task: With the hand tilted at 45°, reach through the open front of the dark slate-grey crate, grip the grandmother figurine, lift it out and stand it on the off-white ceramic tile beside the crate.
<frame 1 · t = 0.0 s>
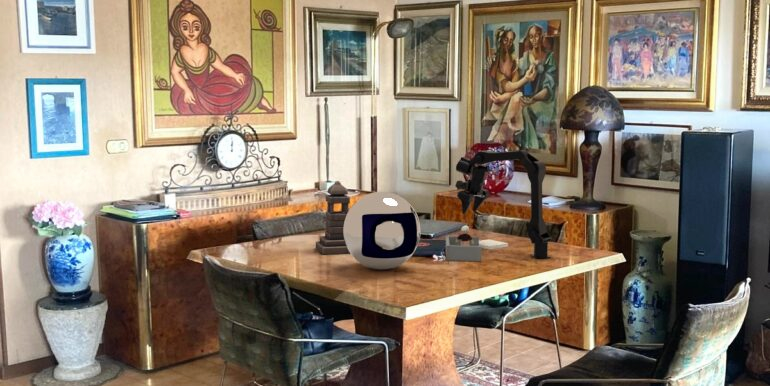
hand: (468, 212, 390), 15 cm above the table, tool pointing down, fingers open, 9 cm apart
open crate: (464, 255, 374), on the table
miniature tower: (337, 251, 381), on the table
ceramic tile: (488, 246, 396), on the table
spherical light: (381, 269, 345), on the table
grandmother figurine: (464, 255, 374), resting in open crate
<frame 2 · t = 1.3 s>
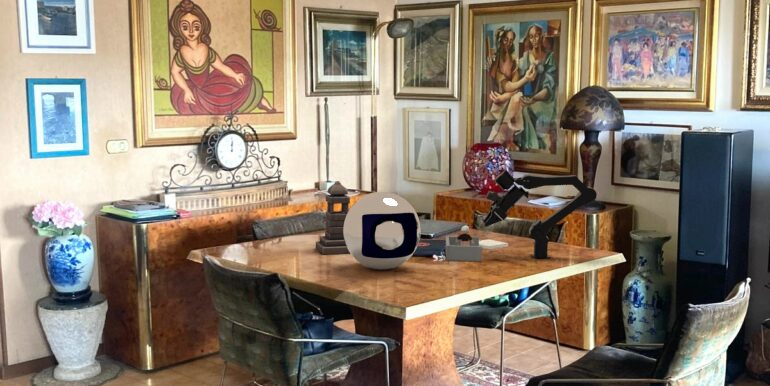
hand: (484, 224, 373), 13 cm above the table, tool tilted 45°, fingers open, 9 cm apart
nothing on the table moved.
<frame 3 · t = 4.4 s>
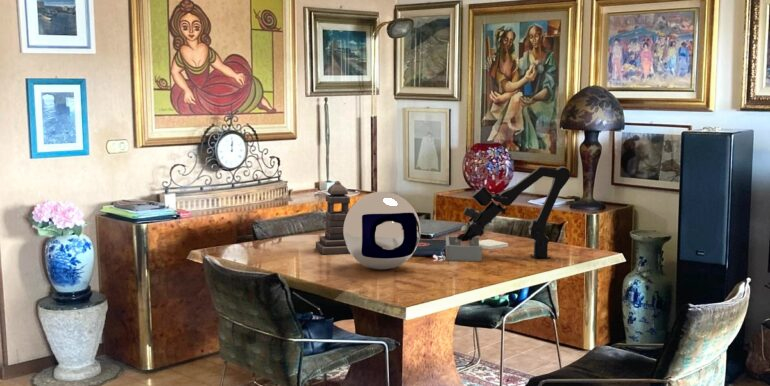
hand: (461, 239, 373), 7 cm above the table, tool tilted 45°, fingers closed on grandmother figurine, 2 cm apart
grandmother figurine: (464, 255, 374), resting in open crate, touching gripper
everything else where it was.
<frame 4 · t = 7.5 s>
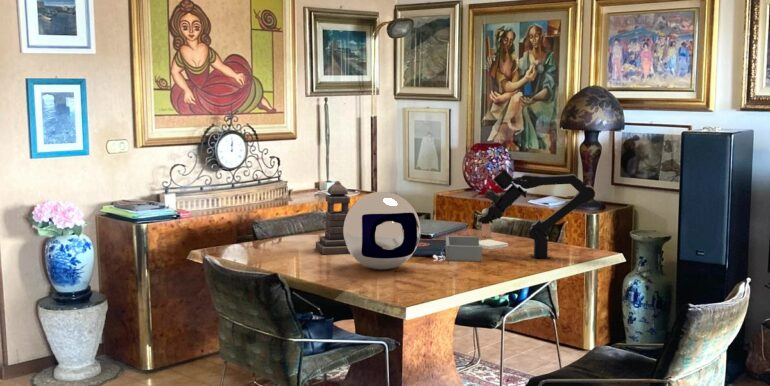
hand: (482, 222, 375), 14 cm above the table, tool tilted 45°, fingers closed on grandmother figurine, 2 cm apart
grandmother figurine: (485, 238, 376), point 7 cm above the table, touching gripper
everything else where it was.
when the fingers open (9 cm above the table, at t = 10.4 s): grandmother figurine drops 1 cm, resting on ceramic tile.
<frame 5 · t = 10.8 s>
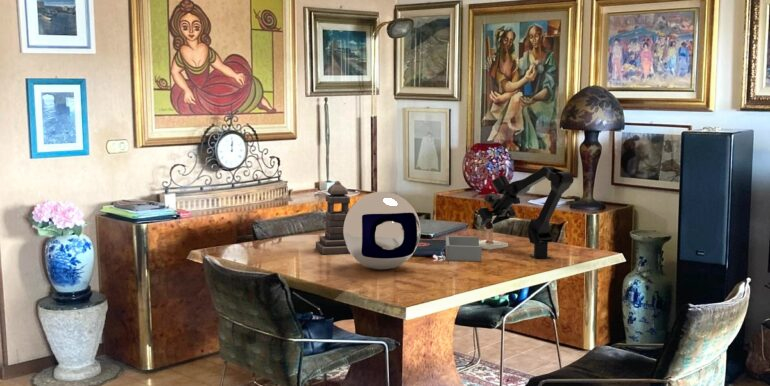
hand: (487, 224, 396), 10 cm above the table, tool tilted 45°, fingers open, 7 cm apart
grandmother figurine: (488, 243, 396), point 1 cm above the table, touching ceramic tile
everything else where it was.
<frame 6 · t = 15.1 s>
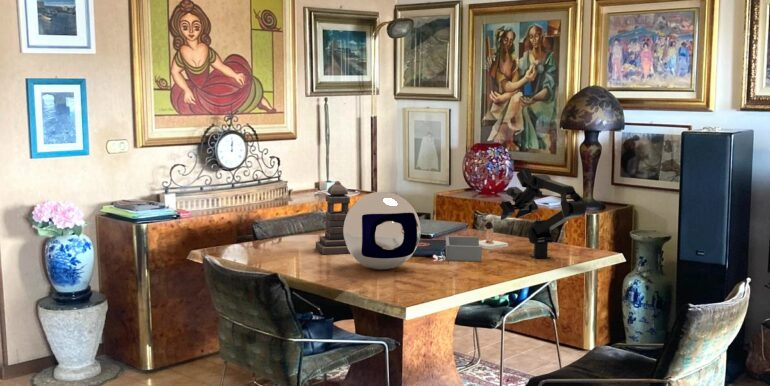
hand: (508, 218, 388), 14 cm above the table, tool tilted 45°, fingers open, 9 cm apart
nothing on the table moved.
at the end: grandmother figurine inside the target area on the ceramic tile (0.2 cm from its centre), point 1.3 cm above the ceramic tile's base; grandmother figurine tilted 0°; the gripper is holding nothing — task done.
